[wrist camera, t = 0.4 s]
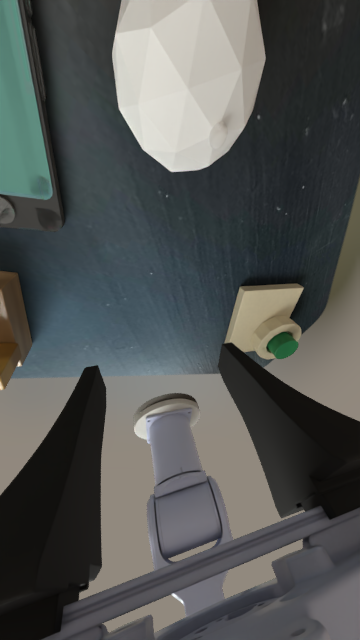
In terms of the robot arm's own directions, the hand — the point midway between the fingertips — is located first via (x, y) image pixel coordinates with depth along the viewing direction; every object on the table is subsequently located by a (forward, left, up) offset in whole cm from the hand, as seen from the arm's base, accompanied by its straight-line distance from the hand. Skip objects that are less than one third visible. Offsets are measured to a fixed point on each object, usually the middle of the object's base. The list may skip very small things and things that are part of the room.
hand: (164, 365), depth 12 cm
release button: (-8, -17, -8) cm, 20 cm away
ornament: (+13, -2, -11) cm, 17 cm away
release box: (-6, -15, -10) cm, 19 cm away
